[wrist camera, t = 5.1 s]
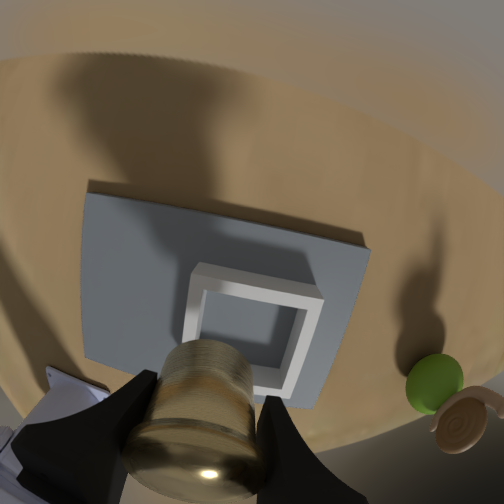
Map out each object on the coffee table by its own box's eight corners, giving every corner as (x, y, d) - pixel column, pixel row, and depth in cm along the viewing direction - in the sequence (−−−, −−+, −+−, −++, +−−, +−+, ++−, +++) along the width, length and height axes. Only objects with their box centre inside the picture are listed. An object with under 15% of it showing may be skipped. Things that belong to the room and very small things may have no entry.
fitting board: (310, 401, 22) (316, 429, 19) (89, 351, 22) (71, 372, 18) (366, 246, 19) (386, 259, 16) (93, 191, 19) (66, 194, 15)
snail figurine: (459, 349, 21) (529, 422, 10) (415, 397, 23) (466, 483, 11) (435, 323, 21) (519, 405, 9) (385, 377, 22) (441, 478, 10)
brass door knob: (248, 416, 14) (250, 509, 8) (156, 399, 14) (128, 487, 8) (269, 343, 13) (284, 448, 7) (160, 323, 12) (113, 418, 7)
